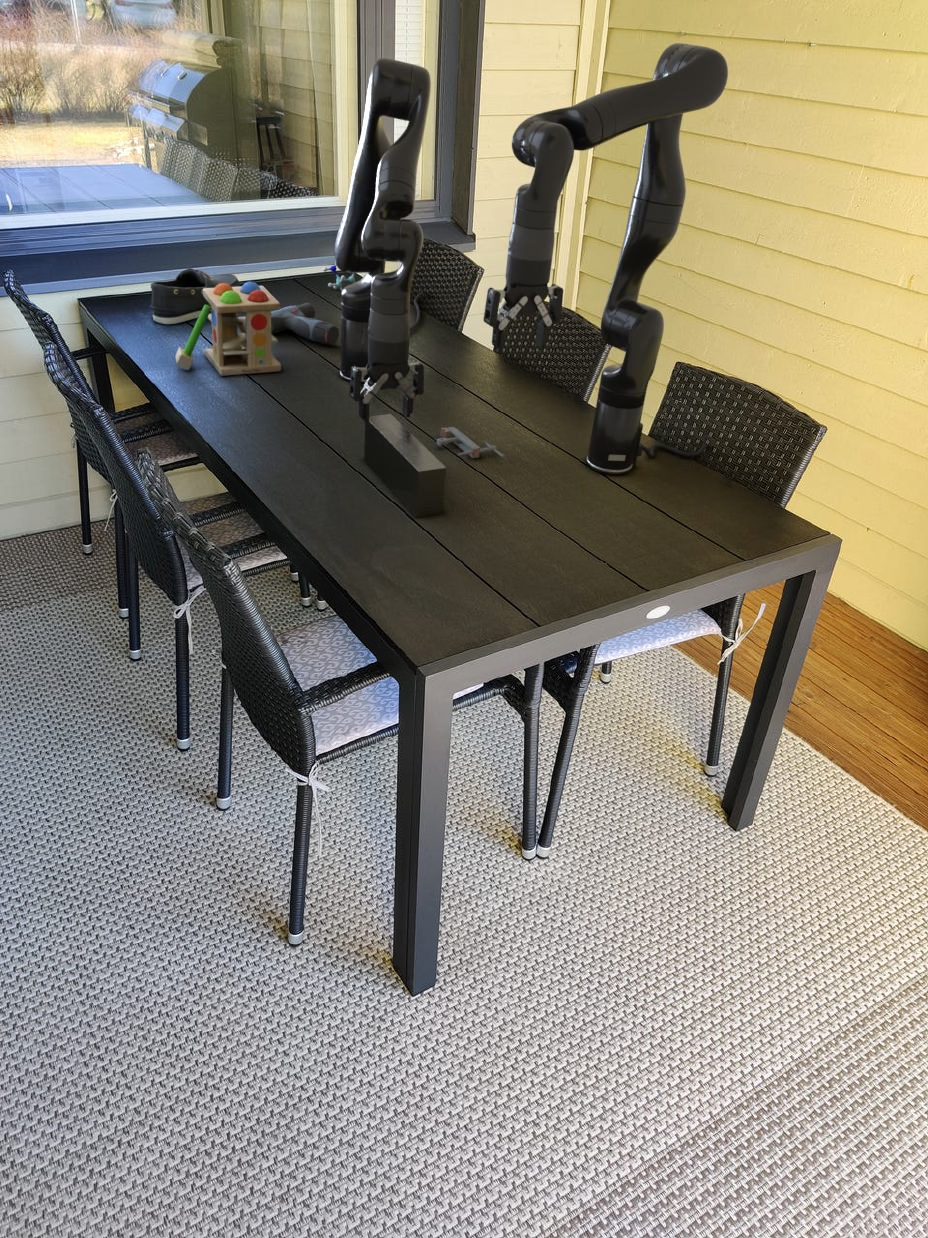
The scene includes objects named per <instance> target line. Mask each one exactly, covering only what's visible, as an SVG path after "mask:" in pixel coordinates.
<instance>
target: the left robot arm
mask: <svg viewBox="0 0 928 1238" xmlns="http://www.w3.org/2000/svg"><path fill="white" fill-rule="evenodd" d="M431 88H432V81H431V75H430V72H429V71H428V69H427V68H426V67H423V66H420V65H418V64H413V63H410V62H405V61H403V60H402V61H401V60H397V59H392V58H388V57H379V58H377V59H376V60H375V61H374V63H373V65H372V67H371V70H370V74H369V78H368V83H367V90H366V98H365V105H364V112H363V120H362V126H361V132H360V137H359V142H358V146H357V150H356V154H355V157H354V162H353V166H352V172H351V177H350V183H349V189H348V194H347V198H346V199H347V200H346V204H345V209H344V212H343V215H342V219H341V221H340V225H339V228H338V231H337V234H336V238H335V244H334V263H335V262H336V265H337V266H336V268H337V269H338V270H340V271H341V272H343V273H346V274H347V273H348V274H353V273H355V274H364V276H363V277H362V278H361V279H359V280H357V281H355V282H356V283H353V284H352V283H350V284H349V285H347V286H345V287H343V288H342V289H343V290H342V291H341V307H340V308H341V310H340V311H341V312H340V314H341V315H340V322H341V323H340V370H339V376H340V377H341V378H342V380H345V381H348V382H349V389H348V391H349V392H348V395H349V397H350V398H351V399H352V400H353V401H354V402H358V416H359V417H360V419H361V420H362V421H363V422H364V423H365V422H369V416H370V401H371V400H372V398H373V397H374V396H376V395H377V393H378V391H379V390H381V391H386V390H388V389H392V390H396V389H397V388H400V390H401V391H402V392H403V393H404V395H402V410H401V411H402V412H401V413H402V415H403V416H404V417H405V418H410V417H411V414H413V412H414V399H415V397H416V396H418V395H419V396H421V395H423V394H424V391H425V367H424V364H422V363H421V362H420V361H419V360H416V359H414V360H413V361H412V362H409V359H410V358H409V357H410V356H409V355H410V352H409V351H410V337H411V336H410V335H411V332H412V331H413V330H415V328H416V327H418V325H419V323H420V320H421V310H420V306H419V304H418V302H417V301H418V300H419V299H420V298H421V297H423V296H424V295H423V291H421V292H419V293H418V294H417V295H416V296H415V298H414V299H413V304H414V307H415V309H416V313H417V315H416V320H415V322H414V323H413V324H412V326H411V317H410V315H411V314H410V307H411V291H412V283H413V277H414V273H415V269H416V266H417V263H418V260H419V258H420V255H421V252H422V249H423V245H424V232H423V229H422V226H421V225H420V224H419V223H418V222H417V221H416V220H414V219H408V218H407V217H409V216H410V215H412V213H413V211H414V209H415V205H416V191H417V176H418V175H417V173H418V165H419V160H420V155H421V150H422V145H423V141H424V134H425V129H426V124H427V118H428V113H429V106H430V100H431V91H432V89H431ZM383 117H386V118H387V117H388V118H391V119H396V120H399V121H405V122H408V123H407V126H406V128H405V130H404V131H403V132H402V134H401V135H400V136H399V137H398V138H397V139H396V140H395V141H394V143H392V142H391V141H390V138H389V136H388V134H387V132H386V129H385V125H384V122H383ZM406 218H407V219H406ZM387 262H393V263H401V264H400V266H399V267H398V268H397V269H396V270H392V271H387V272H385V270H386V263H387ZM425 295H426V296H427V297H429V296H431V295H430V293H429V294H425ZM409 372H410V373H411V374H412V387H411V386H410V384H409V383H408V382H407V380H406V378H407V375H409ZM362 384H363V387H362Z"/></svg>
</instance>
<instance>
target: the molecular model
mask: <svg viewBox="0 0 928 1238" xmlns="http://www.w3.org/2000/svg"><path fill="white" fill-rule="evenodd" d="M322 271H323V272H325V273H326V272H328V271H331V272H332V273H334V275H335V277H336V283H331V282H329V283H327V287H329V288H333V289H334V290H337V289H340V291H341V292H342V290H343V289H344V288H343V282H349V283H350V284H353V283H356V282H357V281H356V277H355V275H356V273H351V275H350V276H349V277H348V278H346V276H345V275H341V276H339V274H338V271H337V265H336V262H335V261H334V265H332V266H330V267H326V266H325V267H323V268H322Z"/></svg>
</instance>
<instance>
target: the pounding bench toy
mask: <svg viewBox="0 0 928 1238" xmlns="http://www.w3.org/2000/svg"><path fill="white" fill-rule="evenodd" d="M203 296H204V297H205V299H206V300H207V301H208V302H209V304H210V305H211V307H210V306H208V305H204V307H203V309H202V311H201V314H200V316H199V317H198V318H197V320H196V322H195V324H194V327H193V329H192V331H191V332H190V333H191V334H190V336H189V338H188V340H187V343H186V344H185V347H184V348H182V347H180V346H179V347H178V349H177V351H176V354H175V357H174V358H175V362H176V365H177V366H178V368H179V369H182V370H185V371H189V370H190V369H191V367H192V365H193V363H194V356H193V351H194V348H195V347H196V345H197V342H198V340H199V337H200V336H201V333H202V332H203V329H204V326H205V325H206V322H207V320H209V321H210V322H211V336H212V337H211V338H212V339H211V340H212V348H205V349H204V352H205V353H204V355H205V357H206V359H208V361H209V363H210V364H211V365H212V366H213V367H214V369H215V370H216V371H217V372H218V374H219V375H220V376H222V377H223V376H234V375H235V376H236V375H246V374H247V375H250V374H262V373H275V372H281V370H282V364H281V363H280V362H279V360H278V359H277V358H276V357H275V356H274V355H273V348H272V347H273V345H272V344H276V343H278V342H279V341H278V339H277V338H276V337H275V336H274V334H273V333H272V334H271V312H272V311H275V310H280V309H281V304H280V301H278V300H277V299H276V297H274V296H273V295H272V294H271V293H270V292H269V290H268V289H267V288H266V287H264V285H259V284H257V283H256V282H255V281H247V282H245V283H244V284H243V285H242V286H241V287H231V286H230V285H228V284H226V283H221V284H218V285H217V286H216V287H215V288H204V289H203ZM210 310H211V311H210ZM238 313H244V314H245V315H244V316H238ZM238 329H239V331H240V333H239V334H238Z"/></svg>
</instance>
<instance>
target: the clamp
mask: <svg viewBox="0 0 928 1238" xmlns="http://www.w3.org/2000/svg"><path fill="white" fill-rule="evenodd" d="M452 443H453V444H454V445H456V446H457V447H458V448H459V449H460V450H462V451H463V452H458V453H457V456H458V457H460V456H469V457H470V458H472V459H477V458H480V454H482V453H487V452H488V453H496V454H497V455H498V456H499V457H500V459H502V460H504V459H506V457H507V456H506V454H504V453H501V452H500V451H499V450H498V447H497V446H496V445H495V444H494V445H491V444H490V443H489V442H488V441H486V440H485V441H484V442H483V446H484V447H483V448H481V447H480V446H479V444H476V443H475V442H474V441H473V440H471V439H470V438H469V437H468V436H466V435H465V434H464V433H463V432H461V431H460V430H459V429H457V428H456V427H455V426H450V427H441V429H440V437H439V438H436V444H437V445H438V446H439V447H441V446H448V445H449V444H452Z"/></svg>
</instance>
